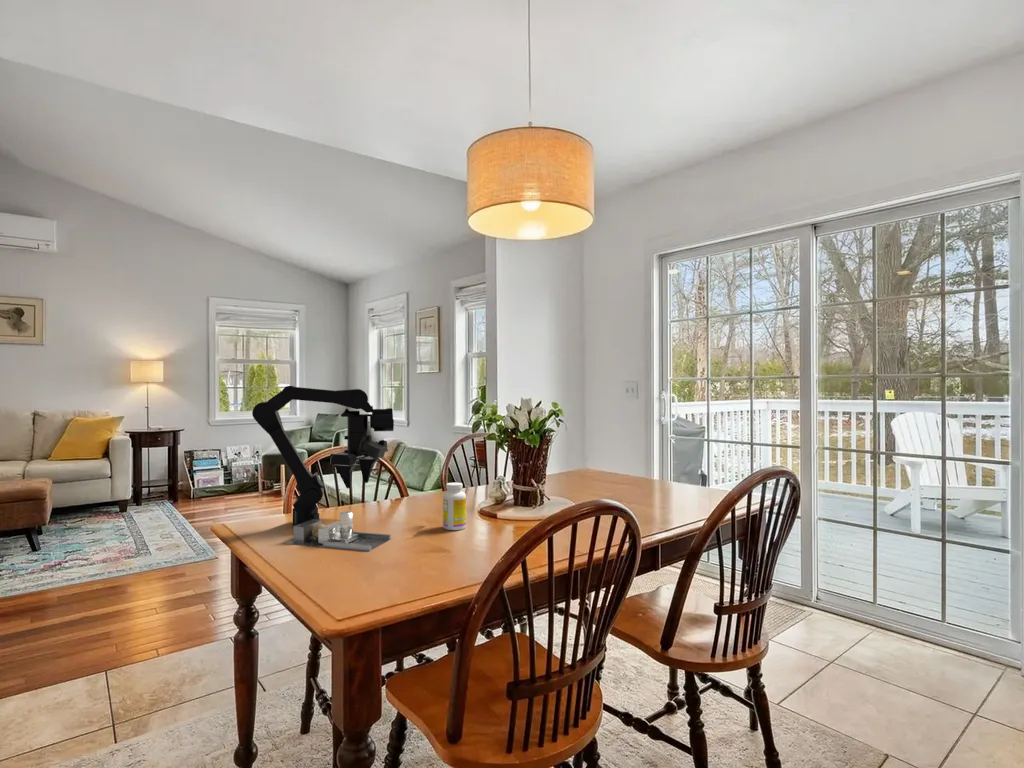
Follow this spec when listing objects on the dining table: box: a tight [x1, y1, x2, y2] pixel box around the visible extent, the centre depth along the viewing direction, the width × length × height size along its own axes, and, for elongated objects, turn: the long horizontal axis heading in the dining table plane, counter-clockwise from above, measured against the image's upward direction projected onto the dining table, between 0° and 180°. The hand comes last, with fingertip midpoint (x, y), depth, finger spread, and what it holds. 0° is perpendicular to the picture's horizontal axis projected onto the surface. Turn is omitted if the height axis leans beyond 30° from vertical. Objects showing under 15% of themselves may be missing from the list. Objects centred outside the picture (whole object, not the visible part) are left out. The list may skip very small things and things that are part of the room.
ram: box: [318, 510, 358, 544], centre depth 147 cm, size 7×8×7 cm
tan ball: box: [312, 523, 326, 540], centre depth 149 cm, size 4×4×4 cm
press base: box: [283, 519, 392, 553], centre depth 147 cm, size 24×12×6 cm, turn 74°
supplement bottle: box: [442, 482, 467, 531], centre depth 166 cm, size 7×7×13 cm
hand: (357, 485), depth 168 cm, fingers open, 9 cm apart
